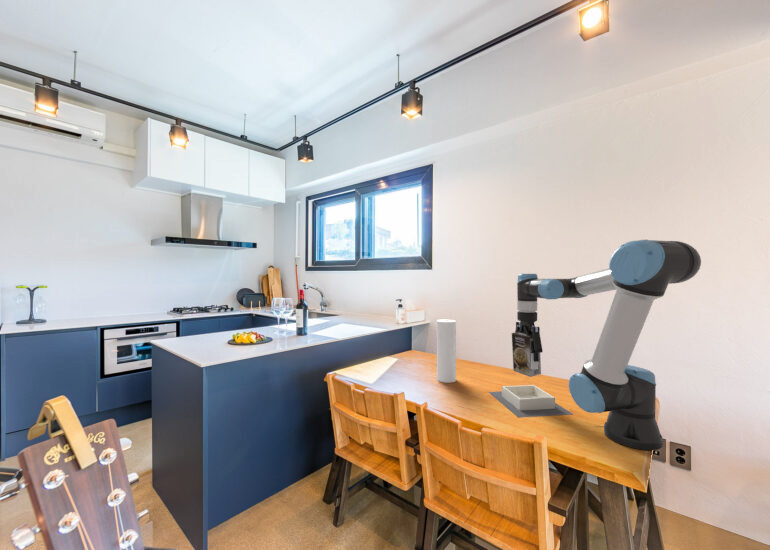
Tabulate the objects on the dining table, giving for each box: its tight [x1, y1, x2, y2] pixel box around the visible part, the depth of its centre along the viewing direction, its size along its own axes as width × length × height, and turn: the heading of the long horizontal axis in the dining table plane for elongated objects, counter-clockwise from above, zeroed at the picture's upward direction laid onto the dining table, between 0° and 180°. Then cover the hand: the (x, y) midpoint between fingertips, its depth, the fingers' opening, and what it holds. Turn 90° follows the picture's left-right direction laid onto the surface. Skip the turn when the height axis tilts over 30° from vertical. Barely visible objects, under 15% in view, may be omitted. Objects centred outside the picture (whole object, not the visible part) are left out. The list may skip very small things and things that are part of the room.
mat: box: [488, 390, 574, 419], centre depth 135 cm, size 26×22×1 cm
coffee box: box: [511, 331, 542, 378], centre depth 135 cm, size 9×6×16 cm
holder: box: [501, 384, 556, 410], centre depth 135 cm, size 15×15×4 cm
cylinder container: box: [436, 318, 457, 384], centre depth 165 cm, size 9×9×30 cm
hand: (527, 365), depth 135 cm, fingers closed on coffee box, 10 cm apart
